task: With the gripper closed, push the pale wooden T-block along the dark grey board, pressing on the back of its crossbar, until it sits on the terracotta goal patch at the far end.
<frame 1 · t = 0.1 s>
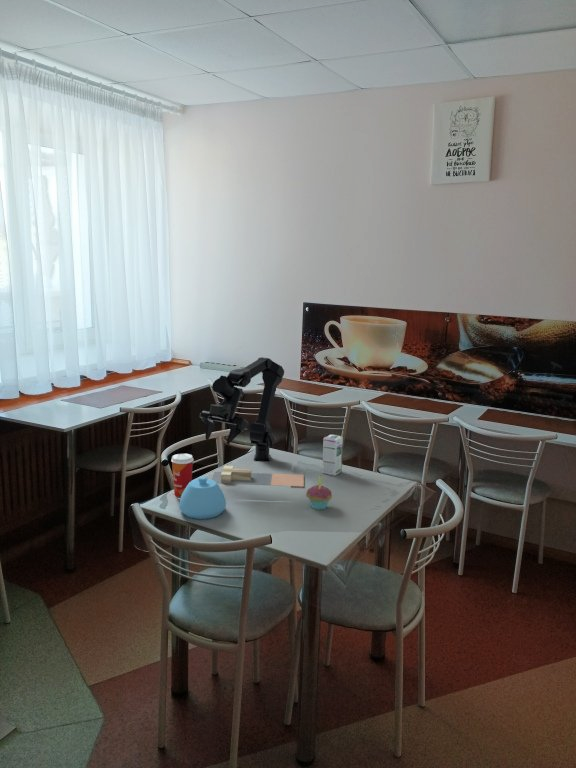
hand: (216, 442, 229), 15 cm above the table, tool tilted 30°, fingers open, 9 cm apart
syrup box: (331, 473, 244), on the table
blue dome lid: (202, 511, 205), on the table
t block: (236, 478, 234), resting on push board
cupcake: (318, 507, 211), on the table
push board: (258, 480, 234), on the table
paper cup: (182, 495, 218), on the table
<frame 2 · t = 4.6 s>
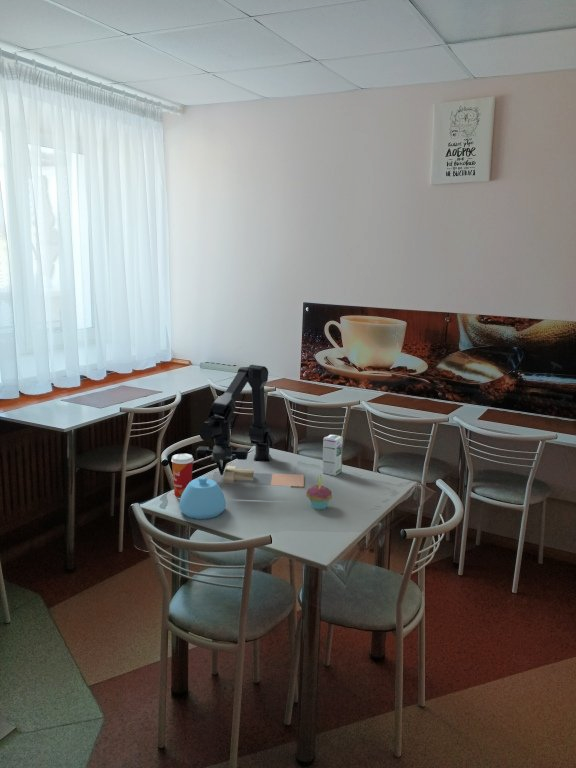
hand: (221, 474, 234), 2 cm above the table, tool pointing down, fingers closed
t block: (239, 478, 234), point 1 cm above the table, touching gripper, push board
everything else where it was.
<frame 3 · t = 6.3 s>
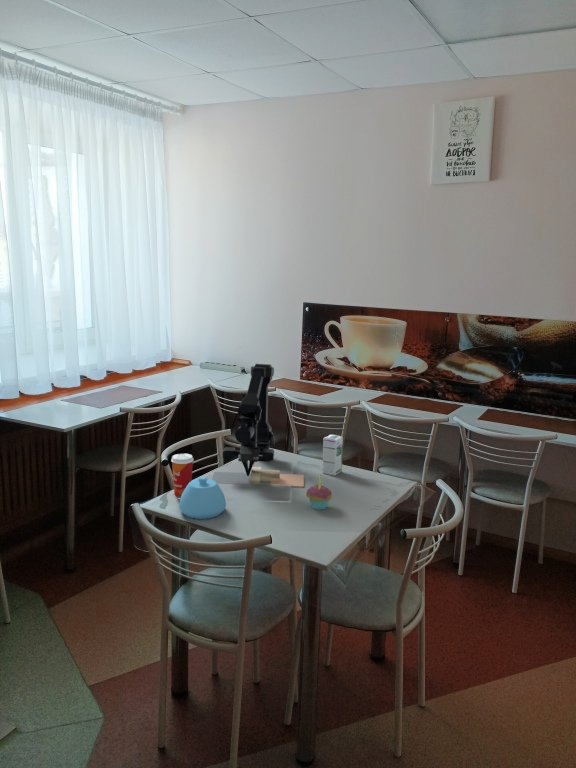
hand: (248, 475, 234), 2 cm above the table, tool pointing down, fingers closed
t block: (265, 479, 234), point 1 cm above the table, touching gripper
everything else where it was.
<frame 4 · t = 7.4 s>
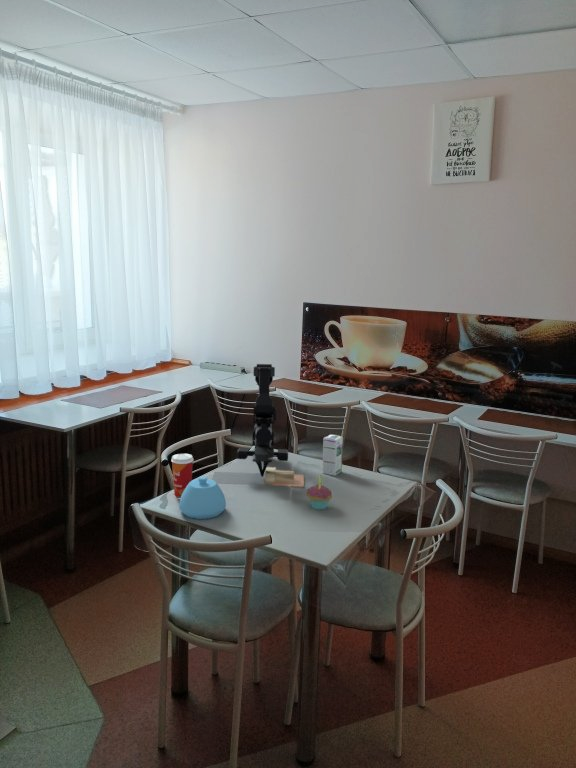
hand: (262, 476, 234), 2 cm above the table, tool pointing down, fingers closed
t block: (279, 479, 234), resting on push board, touching gripper
everything else where it was.
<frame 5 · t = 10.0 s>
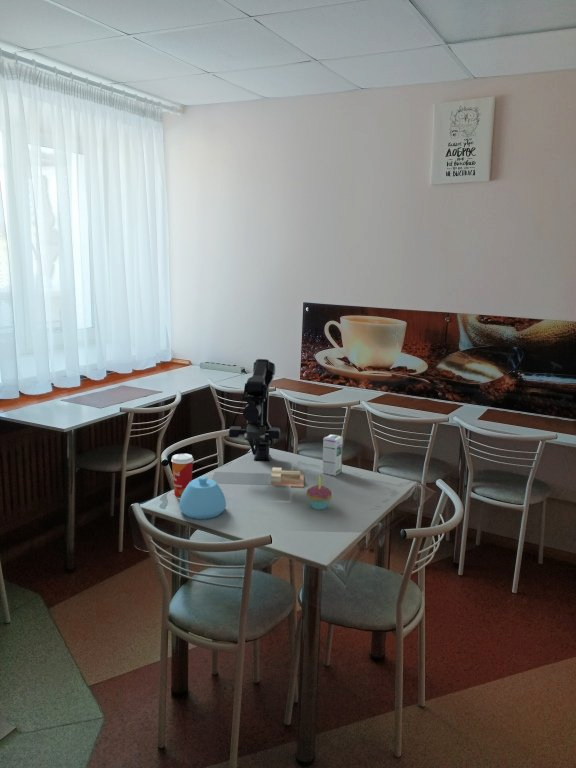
hand: (254, 454, 234), 9 cm above the table, tool pointing down, fingers closed
t block: (285, 480, 233), resting on push board
everything else where it was.
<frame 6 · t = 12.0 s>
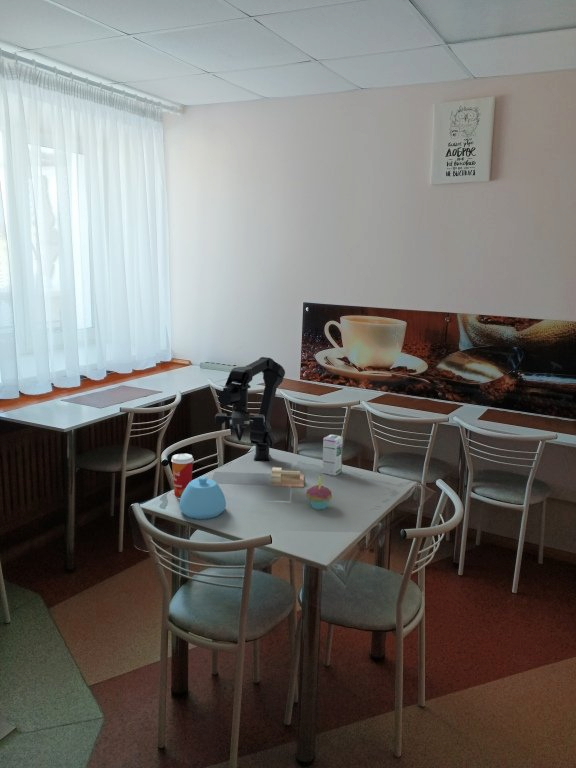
hand: (239, 440, 241), 12 cm above the table, tool pointing down, fingers closed
nothing on the table moved.
at the end: t block inside the target area (0.8 cm from its centre), point 0.5 cm above the table; t block moved 18.3 cm from its start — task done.
